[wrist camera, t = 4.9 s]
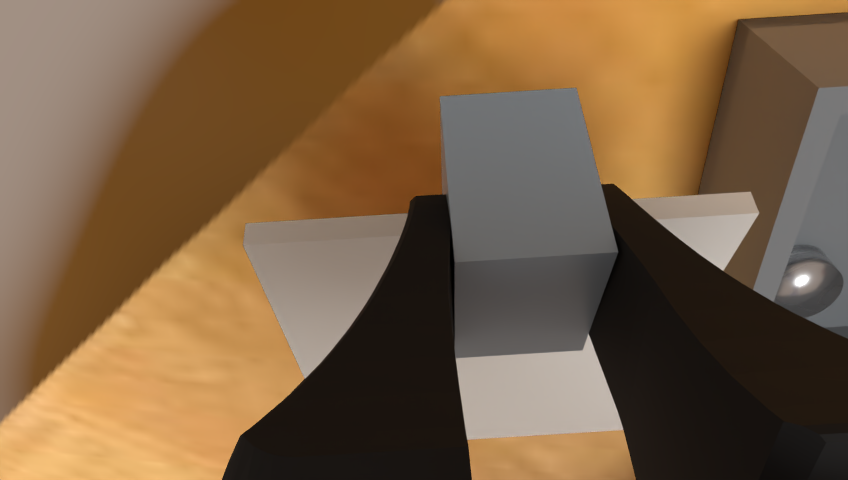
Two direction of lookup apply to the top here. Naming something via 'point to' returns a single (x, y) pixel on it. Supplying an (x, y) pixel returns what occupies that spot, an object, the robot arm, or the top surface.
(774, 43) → the gray open box
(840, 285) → the chrome dome knob
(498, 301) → the white slab
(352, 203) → the top surface
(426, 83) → the top surface
